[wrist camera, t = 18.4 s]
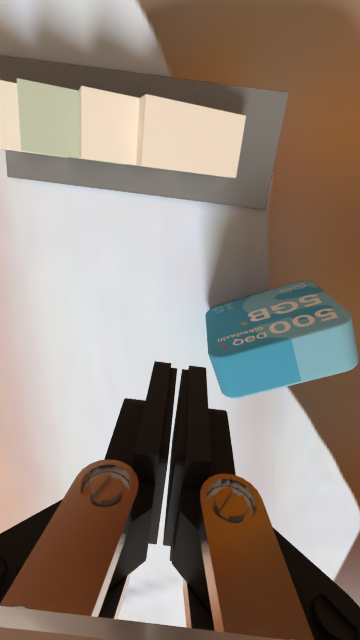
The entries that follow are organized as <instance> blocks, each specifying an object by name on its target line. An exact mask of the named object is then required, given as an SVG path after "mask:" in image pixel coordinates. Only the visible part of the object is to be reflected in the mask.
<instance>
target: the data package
mask: <svg viewBox="0 0 360 640" xmlns="http://www.w3.org/2000/svg"><path fill="white" fill-rule="evenodd" d="M206 328H207V342H208V354H209V357H210V360H211V363H212V365H213V368H214V371H215V374H216V377H217V380H218V383H219V386H220V389H221V391H222V393H223V394H224V395H225V396H226V397H229V398H242V397H246V396H250V395H254V394H258V393H262V392H266V391H270V390H274V389H278V388H282V387H286V386H290V385H293V384H297V383H302V382H306V381H310V380H314V379H317V378H322V377H325V376H330V375H334V374H338V373H341V372H345V371H348V370H351V369H352V368H354V367H355V366H356V365H357V363H358V353H357V347H356V341H355V335H354V329H353V323H352V316H351V314H350V313H349V312H348V311H347V310H346V309H344V308H343V307H342V306H341V305H339V303H337V302H336V301H335V300H334V299H333V298H331V297H330V296H329V295H328V294H327V293H326V292H324V291H323V290H322V289H321V288H320V287H319V286H317V285H316V284H315V283H314V282H312V281H299V282H295V283H292V284H288V285H285V286H282V287H278V288H275V289H272V290H268V291H265V292H262V293H258V294H255V295H252V296H248V297H245V298H242V299H238V300H235V301H232V302H228V303H225V304H222V305H218V306H216V307H213V308H211V309H210V310H209V311H208V312H207V313H206Z"/></svg>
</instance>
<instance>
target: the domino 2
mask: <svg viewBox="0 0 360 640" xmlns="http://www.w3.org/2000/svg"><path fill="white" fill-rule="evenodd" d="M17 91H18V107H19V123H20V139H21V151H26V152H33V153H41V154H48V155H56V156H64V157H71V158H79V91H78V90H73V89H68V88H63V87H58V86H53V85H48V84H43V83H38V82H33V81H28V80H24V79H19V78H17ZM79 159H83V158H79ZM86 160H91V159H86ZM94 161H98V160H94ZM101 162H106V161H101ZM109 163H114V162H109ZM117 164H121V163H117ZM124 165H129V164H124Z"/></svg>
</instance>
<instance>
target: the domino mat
mask: <svg viewBox="0 0 360 640" xmlns="http://www.w3.org/2000/svg"><path fill="white" fill-rule="evenodd" d="M17 78H19V79H24V80H28V81H33V82H38V83H43V84H48V85H53V86H58V87H63V88H68V89H73V90H78V91H79V89H80V87H81V86H85V87H90V88H94V89H99V90H104V91H109V92H113V93H118V94H123V95H128V96H132V97H137V98H141V97H142V96H144V95H146V94H148V95H152V96H157V97H162V98H166V99H171V100H175V101H180V102H185V103H189V104H194V105H199V106H203V107H208V108H212V109H217V110H222V111H226V112H231V113H235V114H240V115H245V116H246V120H245V126H244V132H243V138H242V144H241V150H240V156H239V162H238V168H237V175H236V178H230V177H221V176H213V175H206V174H198V173H191V172H183V171H174V170H167V169H159V168H152V167H144V166H136V165H124V164H117V163H109V162H101V161H94V160H86V159H79V158H71V157H67V158H66V157H58V156H50V155H43V154H35V153H27V152H19V151H12V150H6V162H7V176H8V177H13V178H21V179H29V180H37V181H44V182H52V183H60V184H68V185H76V186H84V187H91V188H99V189H107V190H115V191H123V192H131V193H138V194H146V195H154V196H162V197H170V198H177V199H185V200H193V201H201V202H209V203H217V204H224V205H232V206H240V207H248V208H256V209H264V210H265V206H266V201H267V196H268V191H269V186H270V182H271V177H272V172H273V167H274V162H275V157H276V152H277V148H278V143H279V138H280V132H281V128H282V123H283V118H284V113H285V109H286V104H287V99H288V94H289V93H288V92H280V91H273V90H265V89H257V88H249V87H242V86H233V85H226V84H218V83H211V82H203V81H194V80H187V79H179V78H172V77H164V76H157V75H149V74H141V73H133V72H126V71H118V70H110V69H102V68H95V67H87V66H79V65H72V64H64V63H56V62H48V61H41V60H33V59H25V58H17V57H10V56H2V55H0V80H3V81H7V82H12V83H17Z"/></svg>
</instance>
